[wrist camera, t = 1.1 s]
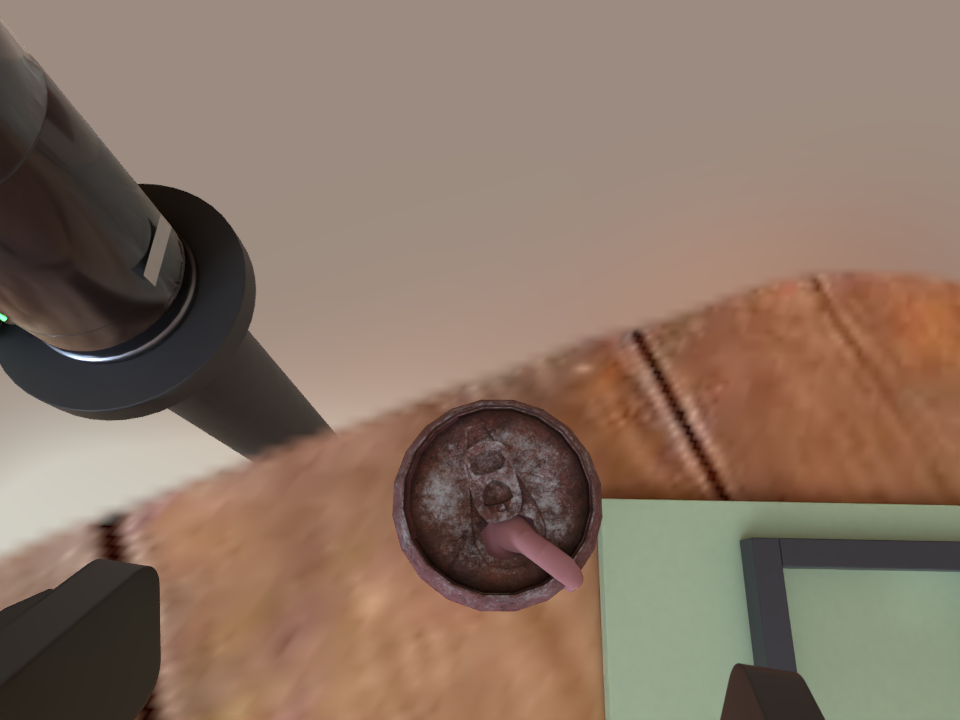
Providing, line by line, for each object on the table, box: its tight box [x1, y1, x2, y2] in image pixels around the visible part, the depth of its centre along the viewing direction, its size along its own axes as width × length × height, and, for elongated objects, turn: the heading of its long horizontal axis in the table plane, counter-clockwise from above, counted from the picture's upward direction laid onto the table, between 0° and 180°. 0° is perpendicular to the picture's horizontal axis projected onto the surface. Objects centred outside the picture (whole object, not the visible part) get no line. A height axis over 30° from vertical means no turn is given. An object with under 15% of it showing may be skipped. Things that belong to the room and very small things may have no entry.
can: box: [393, 400, 603, 611], centre depth 24 cm, size 6×6×14 cm
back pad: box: [598, 498, 960, 720], centre depth 28 cm, size 18×15×3 cm
